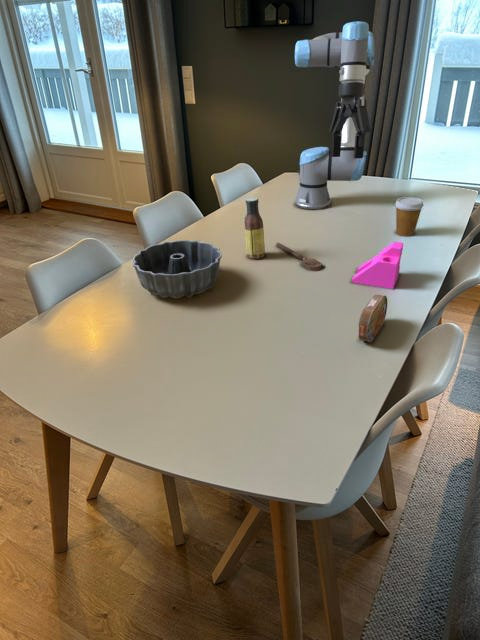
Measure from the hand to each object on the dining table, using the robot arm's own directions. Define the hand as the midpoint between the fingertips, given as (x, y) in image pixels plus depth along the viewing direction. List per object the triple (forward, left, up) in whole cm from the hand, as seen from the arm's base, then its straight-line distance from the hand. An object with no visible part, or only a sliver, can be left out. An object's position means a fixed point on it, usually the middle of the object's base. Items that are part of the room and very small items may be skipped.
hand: (346, 157), depth 148 cm
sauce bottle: (-6, -30, -30) cm, 43 cm away
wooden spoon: (+2, -18, -30) cm, 35 cm away
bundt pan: (+4, -59, -30) cm, 66 cm away
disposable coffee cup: (0, +27, -30) cm, 40 cm away
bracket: (+26, -4, -30) cm, 40 cm away
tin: (+51, -22, -30) cm, 63 cm away
